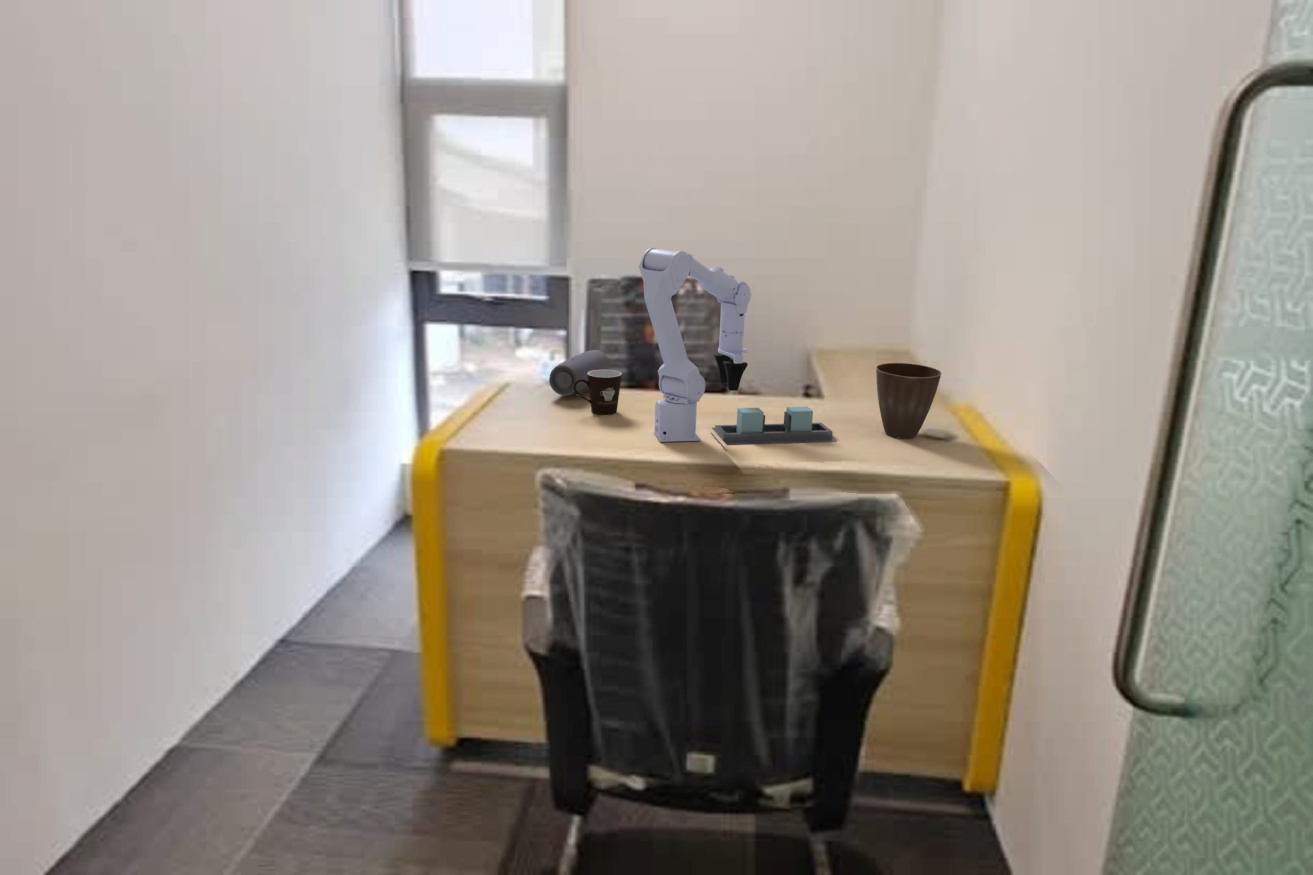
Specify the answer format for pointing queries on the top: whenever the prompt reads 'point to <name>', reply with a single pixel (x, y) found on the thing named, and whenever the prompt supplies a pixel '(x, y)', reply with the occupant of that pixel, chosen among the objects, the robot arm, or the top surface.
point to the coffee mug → (602, 391)
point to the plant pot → (905, 396)
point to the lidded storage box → (750, 420)
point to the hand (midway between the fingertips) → (728, 386)
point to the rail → (773, 435)
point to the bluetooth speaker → (577, 372)
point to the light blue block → (798, 419)
